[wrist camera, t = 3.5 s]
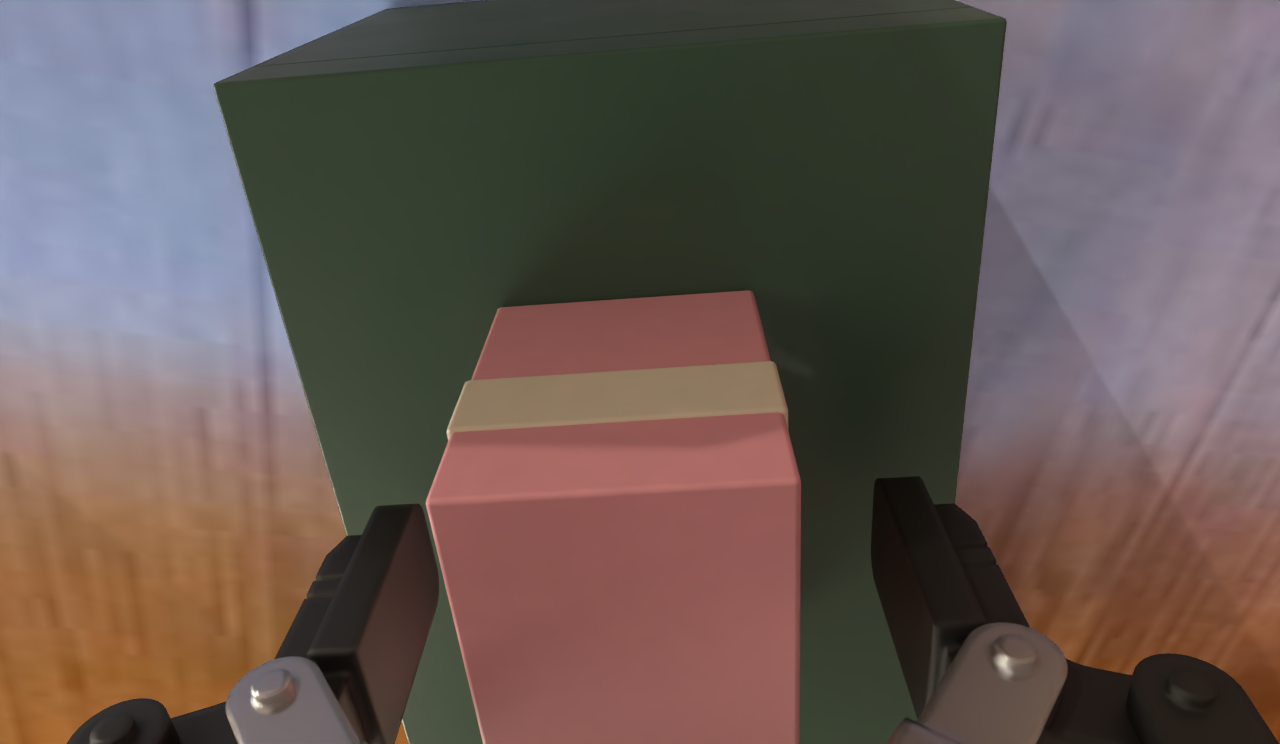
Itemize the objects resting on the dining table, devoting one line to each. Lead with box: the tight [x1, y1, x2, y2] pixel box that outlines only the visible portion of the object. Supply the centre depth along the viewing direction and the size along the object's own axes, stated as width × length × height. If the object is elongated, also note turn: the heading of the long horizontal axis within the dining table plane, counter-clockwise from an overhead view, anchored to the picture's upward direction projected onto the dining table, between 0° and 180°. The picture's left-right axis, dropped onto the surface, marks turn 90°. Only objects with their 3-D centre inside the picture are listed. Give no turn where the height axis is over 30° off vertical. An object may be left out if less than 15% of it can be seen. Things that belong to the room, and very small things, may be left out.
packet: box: [426, 290, 801, 744], centre depth 15 cm, size 4×8×6 cm, turn 5°
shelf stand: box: [214, 0, 1007, 744], centre depth 21 cm, size 12×16×10 cm
